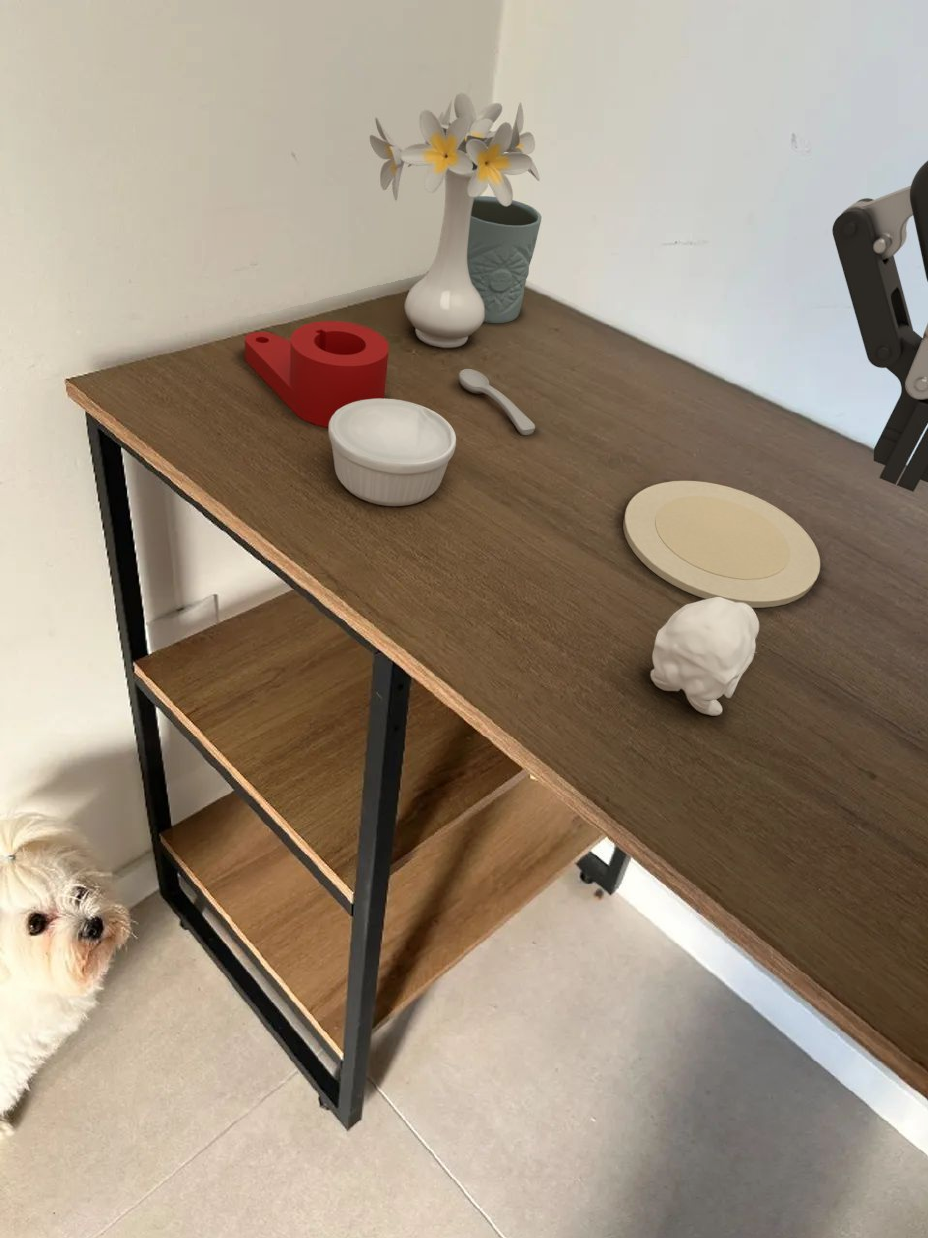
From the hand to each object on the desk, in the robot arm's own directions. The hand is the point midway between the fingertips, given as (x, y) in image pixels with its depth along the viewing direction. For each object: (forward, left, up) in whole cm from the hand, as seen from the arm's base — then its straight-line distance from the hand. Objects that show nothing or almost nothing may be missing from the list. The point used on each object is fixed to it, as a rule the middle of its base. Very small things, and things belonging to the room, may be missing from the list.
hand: (899, 477), depth 39 cm
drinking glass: (+53, -62, -29) cm, 87 cm away
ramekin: (+39, -22, -29) cm, 53 cm away
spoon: (+39, -41, -29) cm, 64 cm away
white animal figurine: (+6, -17, -29) cm, 34 cm away
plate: (+11, -35, -29) cm, 47 cm away
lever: (+55, -30, -29) cm, 69 cm away
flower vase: (+52, -50, -29) cm, 78 cm away
